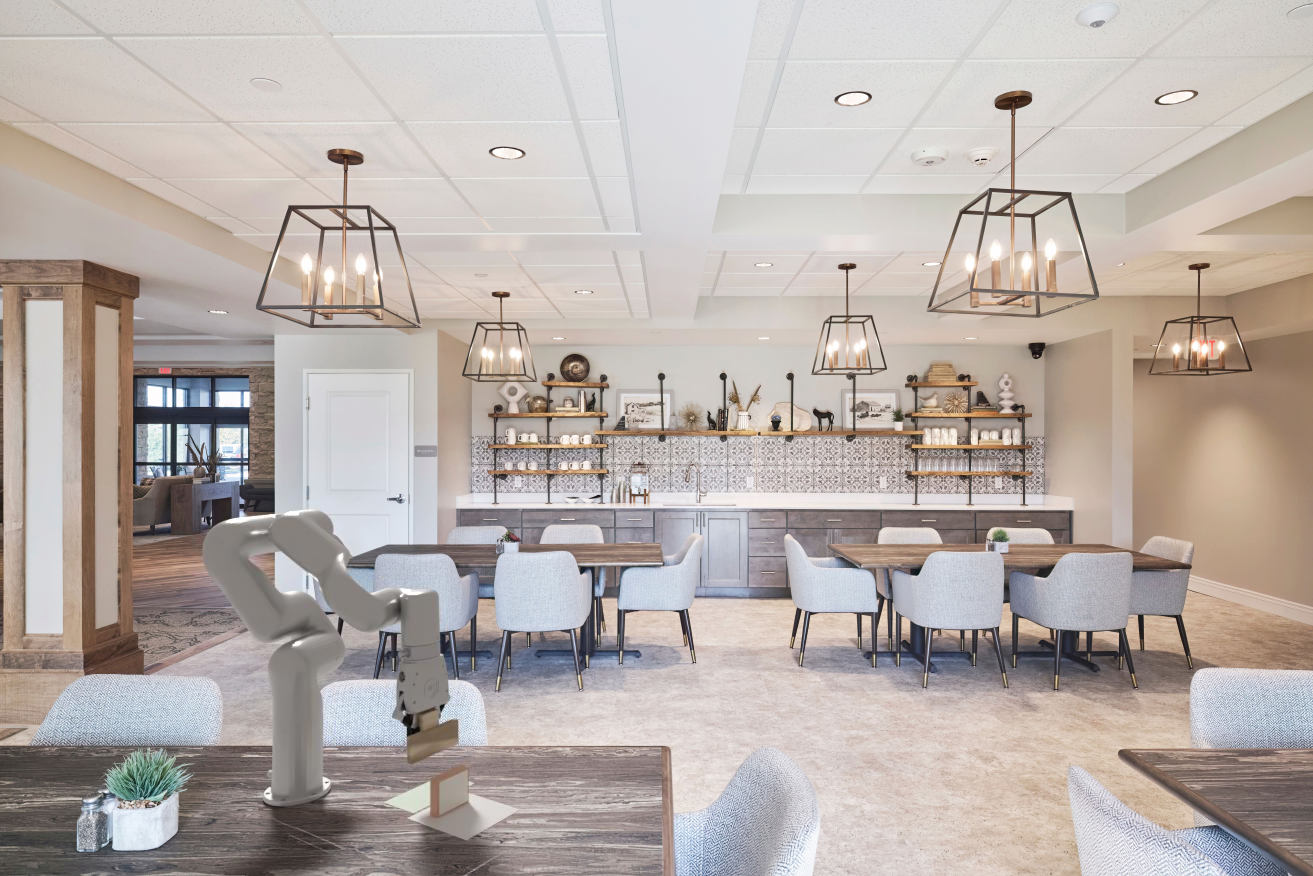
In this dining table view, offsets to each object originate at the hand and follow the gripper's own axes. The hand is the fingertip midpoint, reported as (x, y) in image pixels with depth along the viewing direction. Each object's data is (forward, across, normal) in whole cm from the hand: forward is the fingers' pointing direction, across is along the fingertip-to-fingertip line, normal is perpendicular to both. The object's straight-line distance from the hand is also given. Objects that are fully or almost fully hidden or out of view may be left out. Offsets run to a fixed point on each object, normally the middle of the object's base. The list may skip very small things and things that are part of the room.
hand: (423, 741), depth 152 cm
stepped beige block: (+2, 0, 0) cm, 2 cm away
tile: (+12, 0, -8) cm, 14 cm away
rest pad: (+12, +3, +1) cm, 12 cm away
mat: (+12, 0, -12) cm, 17 cm away
